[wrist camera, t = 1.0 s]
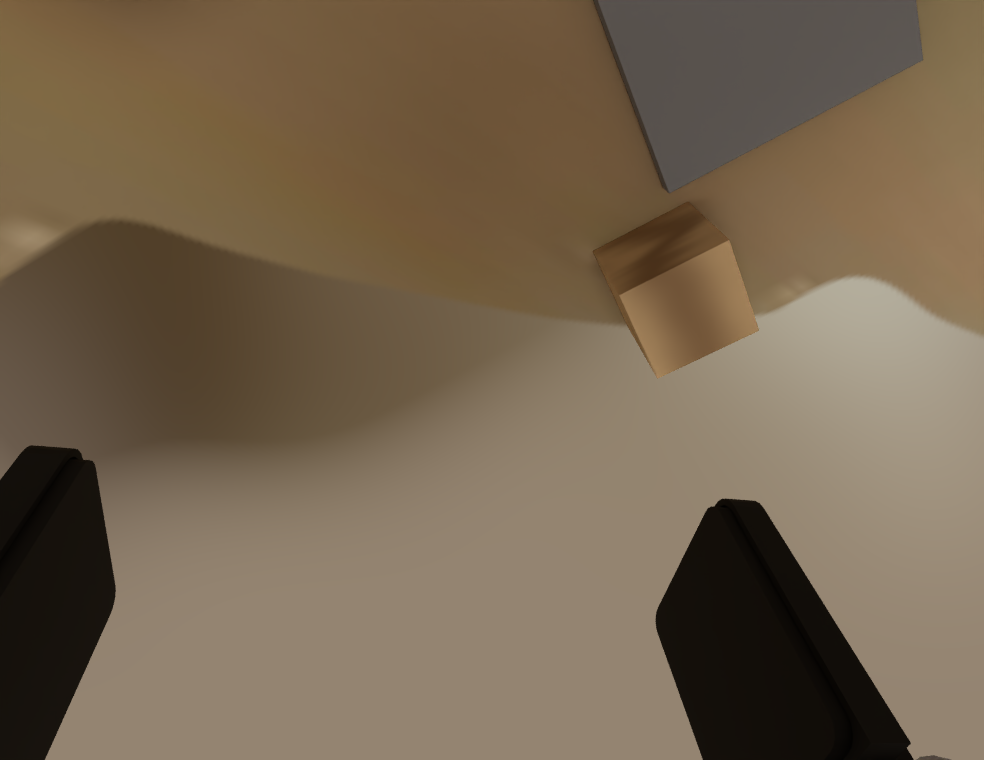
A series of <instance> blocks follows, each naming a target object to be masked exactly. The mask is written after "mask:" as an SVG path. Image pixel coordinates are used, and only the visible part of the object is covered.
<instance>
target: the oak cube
mask: <svg viewBox="0 0 984 760" xmlns="http://www.w3.org/2000/svg"><path fill="white" fill-rule="evenodd" d="M593 253H594V255H595V257H596V259H597V261H598V263H599V266H600V268H601V270H602V272H603V274H604V276H605V278H606V281H607V283H608V285H609V287H610V289H611V291H612V293H613V296H614V298H615V300H616V302H617V304H618V306H619V308H620V311H621V313H622V315H623V317H624V319H625V321H626V323H627V326H628V328H629V330H630V331H631V333H632V335H633V337H634V338H635V340H636V342H637V343H638V345H639V347H640V349H641V351H642V352H643V354H644V356H645V357H646V359H647V361H648V363H649V365H650V366H651V368H652V370H653V372H654V373H655V375H656V377H657V378H660V377H662V376H664V375H666V374H668V373H670V372H672V371H675V370H677V369H679V368H681V367H683V366H685V365H687V364H689V363H691V362H694V361H696V360H698V359H700V358H702V357H704V356H706V355H708V354H710V353H712V352H715V351H717V350H719V349H721V348H723V347H725V346H727V345H729V344H732V343H734V342H736V341H738V340H740V339H742V338H744V337H746V336H748V335H751V334H753V333H755V332H757V331H758V330H759V329H758V326H757V323H756V320H755V316H754V313H753V310H752V307H751V304H750V301H749V298H748V295H747V292H746V289H745V286H744V283H743V280H742V277H741V274H740V271H739V268H738V265H737V262H736V259H735V256H734V253H733V250H732V247H731V244H730V240H729V239H728V238H727V237H726V236H725V235H723V234H722V233H721V232H720V231H719V230H718V229H717V228H716V227H715V226H714V225H713V224H711V223H710V222H709V221H708V220H707V219H706V218H705V217H704V216H703V215H702V214H701V213H700V212H698V211H697V210H696V209H695V208H694V207H693V206H692V205H691V204H690V203H689V202H686V203H684V204H682V205H681V206H679V207H677V208H675V209H673V210H671V211H669V212H667V213H665V214H663V215H661V216H659V217H657V218H656V219H654V220H652V221H650V222H648V223H646V224H644V225H642V226H640V227H638V228H636V229H634V230H632V231H631V232H629V233H627V234H625V235H623V236H621V237H619V238H617V239H615V240H613V241H611V242H609V243H608V244H606V245H604V246H602V247H600V248H598V249H596V250H594V251H593Z"/></svg>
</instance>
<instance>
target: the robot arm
mask: <svg viewBox="0 0 984 760" xmlns="http://www.w3.org/2000/svg"><path fill="white" fill-rule="evenodd" d="M115 592H116V590H115V581H114V575H113V569H112V563H111V557H110V551H109V545H108V539H107V533H106V527H105V521H104V515H103V509H102V503H101V497H100V491H99V486H98V479H97V473H96V468H95V464H94V463H93V461H90V460H83V458H82V455H81V453H80V451H79V450H78V449H71V448H59V447H58V448H57V447H46V446H29V447H27V448H26V449H24V451H23V452H22V453H21V454H20V455H19V456H18V458H17V459H16V460H15V462H14V463H13V464H12V465H11V467H10V468H9V469H8V471H7V472H6V473H5V474H4V476H3V477H2V478H1V480H0V760H45V758H46V756H47V754H48V751H49V749H50V747H51V745H52V742H53V740H54V738H55V736H56V734H57V731H58V729H59V727H60V725H61V723H62V720H63V718H64V716H65V714H66V711H67V709H68V707H69V705H70V703H71V700H72V698H73V696H74V694H75V691H76V689H77V687H78V685H79V682H80V680H81V678H82V676H83V674H84V672H85V669H86V667H87V665H88V663H89V660H90V658H91V656H92V654H93V651H94V649H95V647H96V645H97V643H98V640H99V638H100V636H101V634H102V632H103V629H104V627H105V625H106V623H107V621H108V618H109V616H110V614H111V611H112V608H113V605H114V600H115ZM656 628H657V632H658V635H659V638H660V641H661V644H662V647H663V649H664V652H665V655H666V658H667V661H668V663H669V666H670V669H671V671H672V674H673V677H674V680H675V682H676V686H677V688H678V691H679V694H680V697H681V700H682V702H683V705H684V708H685V711H686V714H687V716H688V719H689V722H690V725H691V727H692V730H693V733H694V736H695V738H696V742H697V744H698V747H699V750H700V753H701V755H702V758H703V760H913V758H912V756H911V754H910V753H909V751H908V750H907V747H908V746H909V745H910V744H911V743H910V741H909V739H908V738H907V736H906V735H905V733H904V731H903V730H902V729H901V727H900V725H899V723H898V722H897V721H896V719H895V717H894V715H893V714H892V712H891V711H890V709H889V708H888V706H887V704H886V703H885V701H884V699H883V698H882V696H881V695H880V693H879V692H878V690H877V688H876V687H875V685H874V683H873V682H872V680H871V679H870V677H869V676H868V674H867V672H866V671H865V669H864V668H863V666H862V664H861V663H860V661H859V660H858V658H857V656H856V655H855V653H854V652H853V650H852V648H851V647H850V645H849V644H848V642H847V640H846V639H845V637H844V636H843V634H842V633H841V631H840V629H839V628H838V626H837V625H836V623H835V621H834V620H833V618H832V616H831V615H830V613H829V612H828V610H827V609H826V607H825V605H824V604H823V602H822V600H821V599H820V598H819V596H818V594H817V592H816V591H815V589H814V588H813V586H812V585H811V583H810V581H809V580H808V578H807V576H806V575H805V573H804V572H803V570H802V569H801V567H800V565H799V564H798V562H797V561H796V559H795V557H794V556H793V554H792V553H791V551H790V549H789V548H788V546H787V545H786V543H785V541H784V540H783V538H782V537H781V535H780V533H779V532H778V530H777V529H776V527H775V526H774V524H773V522H772V521H771V519H770V517H769V516H768V514H767V513H766V511H765V509H764V508H763V507H762V506H761V505H760V503H758V502H756V501H749V500H736V499H721V500H720V501H718V502H717V504H716V505H715V506H714V507H710V508H708V509H707V511H706V513H705V514H704V516H703V518H702V520H701V522H700V525H699V526H698V528H697V531H696V532H695V534H694V536H693V538H692V540H691V542H690V544H689V547H688V548H687V551H686V552H685V555H684V556H683V558H682V561H681V563H680V565H679V567H678V569H677V571H676V573H675V575H674V577H673V579H672V581H671V583H670V585H669V587H668V589H667V591H666V593H665V595H664V597H663V599H662V601H661V603H660V605H659V607H658V609H657V612H656ZM917 760H950V759H946V758H942V757H938V756H925V757H920V758H918V759H917Z"/></svg>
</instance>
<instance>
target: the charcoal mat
mask: <svg viewBox="0 0 984 760" xmlns="http://www.w3.org/2000/svg"><path fill="white" fill-rule="evenodd" d="M593 1H594V3H595V6H596V9H597V11H598V14H599V17H600V20H601V22H602V25H603V28H604V30H605V33H606V36H607V38H608V41H609V44H610V46H611V49H612V52H613V54H614V57H615V60H616V62H617V65H618V68H619V70H620V73H621V76H622V78H623V81H624V84H625V86H626V89H627V92H628V94H629V97H630V100H631V102H632V105H633V108H634V110H635V113H636V116H637V118H638V121H639V124H640V126H641V129H642V132H643V135H644V137H645V140H646V143H647V145H648V148H649V151H650V153H651V156H652V159H653V161H654V164H655V167H656V169H657V172H658V175H659V177H660V180H661V183H662V185H663V188H664V189H665V190H666V191H667V192H668V193H671V192H673V191H675V190H677V189H678V188H680V187H682V186H684V185H686V184H688V183H690V182H692V181H694V180H696V179H698V178H699V177H701V176H703V175H705V174H707V173H709V172H711V171H713V170H715V169H717V168H718V167H720V166H722V165H724V164H726V163H728V162H730V161H732V160H734V159H736V158H737V157H739V156H741V155H743V154H745V153H747V152H749V151H751V150H753V149H755V148H757V147H758V146H760V145H762V144H764V143H766V142H768V141H770V140H772V139H774V138H776V137H777V136H779V135H781V134H783V133H785V132H787V131H789V130H791V129H793V128H795V127H797V126H798V125H800V124H802V123H804V122H806V121H808V120H810V119H812V118H814V117H816V116H817V115H819V114H821V113H823V112H825V111H827V110H829V109H831V108H833V107H835V106H836V105H838V104H840V103H842V102H844V101H846V100H848V99H850V98H852V97H854V96H856V95H857V94H859V93H861V92H863V91H865V90H867V89H869V88H871V87H873V86H875V85H876V84H878V83H880V82H882V81H884V80H886V79H888V78H890V77H892V76H894V75H895V74H897V73H899V72H901V71H903V70H905V69H907V68H909V67H911V66H913V65H915V64H916V63H918V62H920V61H922V60H923V55H922V46H921V38H920V30H919V21H918V13H917V4H916V0H593Z"/></svg>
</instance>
